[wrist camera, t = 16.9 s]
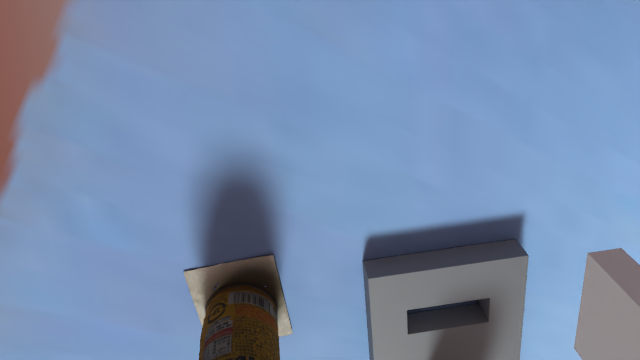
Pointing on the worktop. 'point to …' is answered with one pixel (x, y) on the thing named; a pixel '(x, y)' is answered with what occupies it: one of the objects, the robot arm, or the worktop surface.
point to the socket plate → (446, 288)
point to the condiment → (240, 309)
